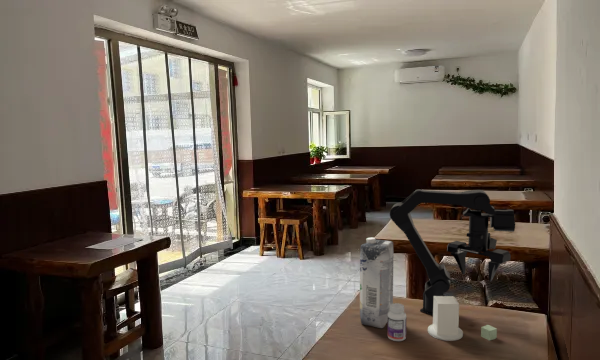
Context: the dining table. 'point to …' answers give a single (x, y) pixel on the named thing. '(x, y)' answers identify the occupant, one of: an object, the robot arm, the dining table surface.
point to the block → (488, 332)
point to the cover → (445, 315)
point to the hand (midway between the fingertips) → (476, 277)
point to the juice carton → (376, 281)
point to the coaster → (445, 337)
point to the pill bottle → (397, 322)
